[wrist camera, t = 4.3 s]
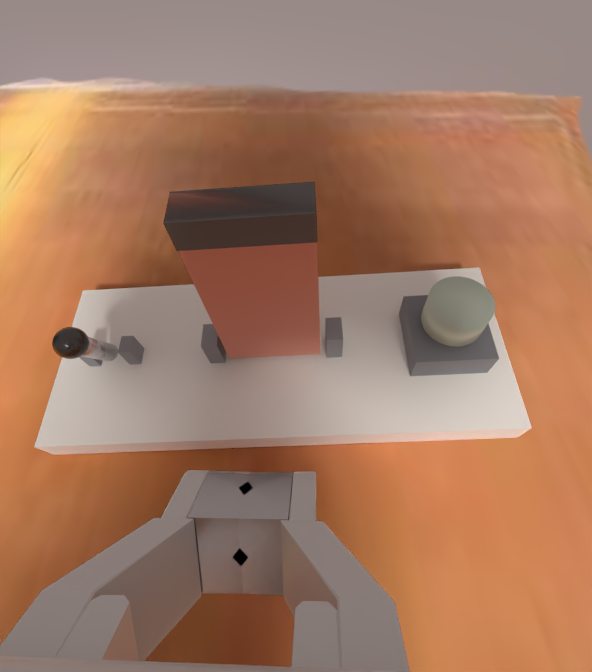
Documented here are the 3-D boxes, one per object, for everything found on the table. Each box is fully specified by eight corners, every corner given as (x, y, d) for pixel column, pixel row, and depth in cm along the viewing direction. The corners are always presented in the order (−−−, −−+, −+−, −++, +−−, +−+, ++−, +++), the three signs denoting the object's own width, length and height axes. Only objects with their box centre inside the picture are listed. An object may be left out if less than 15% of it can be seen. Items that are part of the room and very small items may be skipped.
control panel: (517, 437, 25) (552, 414, 21) (53, 454, 26) (6, 436, 22) (470, 284, 31) (491, 244, 27) (96, 305, 32) (65, 270, 28)
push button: (489, 345, 23) (503, 327, 21) (427, 348, 23) (435, 330, 21) (474, 294, 25) (485, 274, 23) (416, 297, 25) (423, 278, 23)
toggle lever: (122, 365, 26) (75, 356, 21) (95, 366, 26) (43, 357, 21) (123, 338, 26) (77, 323, 21) (96, 339, 26) (45, 324, 21)
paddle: (320, 355, 25) (316, 213, 15) (229, 359, 26) (163, 223, 15) (319, 331, 26) (314, 181, 16) (230, 336, 27) (169, 191, 16)
